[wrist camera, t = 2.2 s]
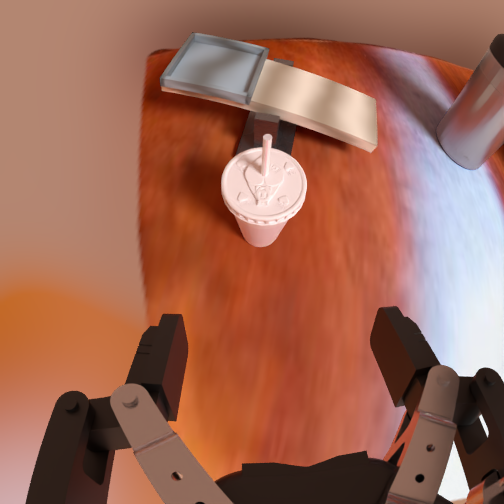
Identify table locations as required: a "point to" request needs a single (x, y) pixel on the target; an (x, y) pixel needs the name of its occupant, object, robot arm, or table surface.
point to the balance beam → (270, 88)
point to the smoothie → (263, 191)
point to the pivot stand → (268, 129)
